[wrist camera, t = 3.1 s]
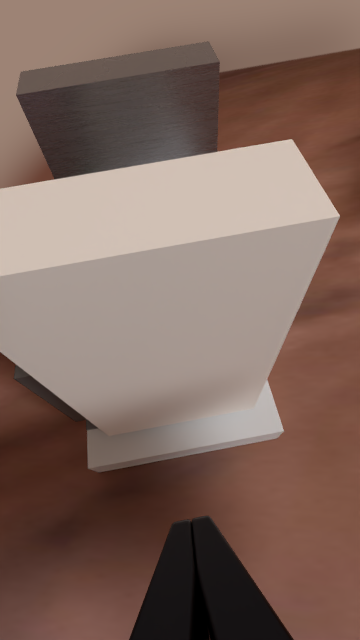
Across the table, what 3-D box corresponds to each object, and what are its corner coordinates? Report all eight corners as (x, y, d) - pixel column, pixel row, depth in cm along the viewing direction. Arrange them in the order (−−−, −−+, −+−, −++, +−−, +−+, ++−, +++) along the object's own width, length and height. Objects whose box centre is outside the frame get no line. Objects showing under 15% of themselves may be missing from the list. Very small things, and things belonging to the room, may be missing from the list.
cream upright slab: (253, 408, 13) (339, 216, 5) (76, 442, 13) (-175, 306, 4) (228, 321, 15) (256, 81, 7) (76, 349, 15) (-93, 138, 7)
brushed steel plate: (215, 220, 19) (219, 61, 13) (83, 243, 19) (16, 94, 12) (208, 198, 21) (208, 41, 14) (83, 220, 20) (20, 71, 13)
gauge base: (276, 438, 14) (284, 430, 13) (98, 472, 14) (86, 468, 13) (208, 217, 22) (208, 197, 20) (90, 237, 22) (83, 219, 20)
